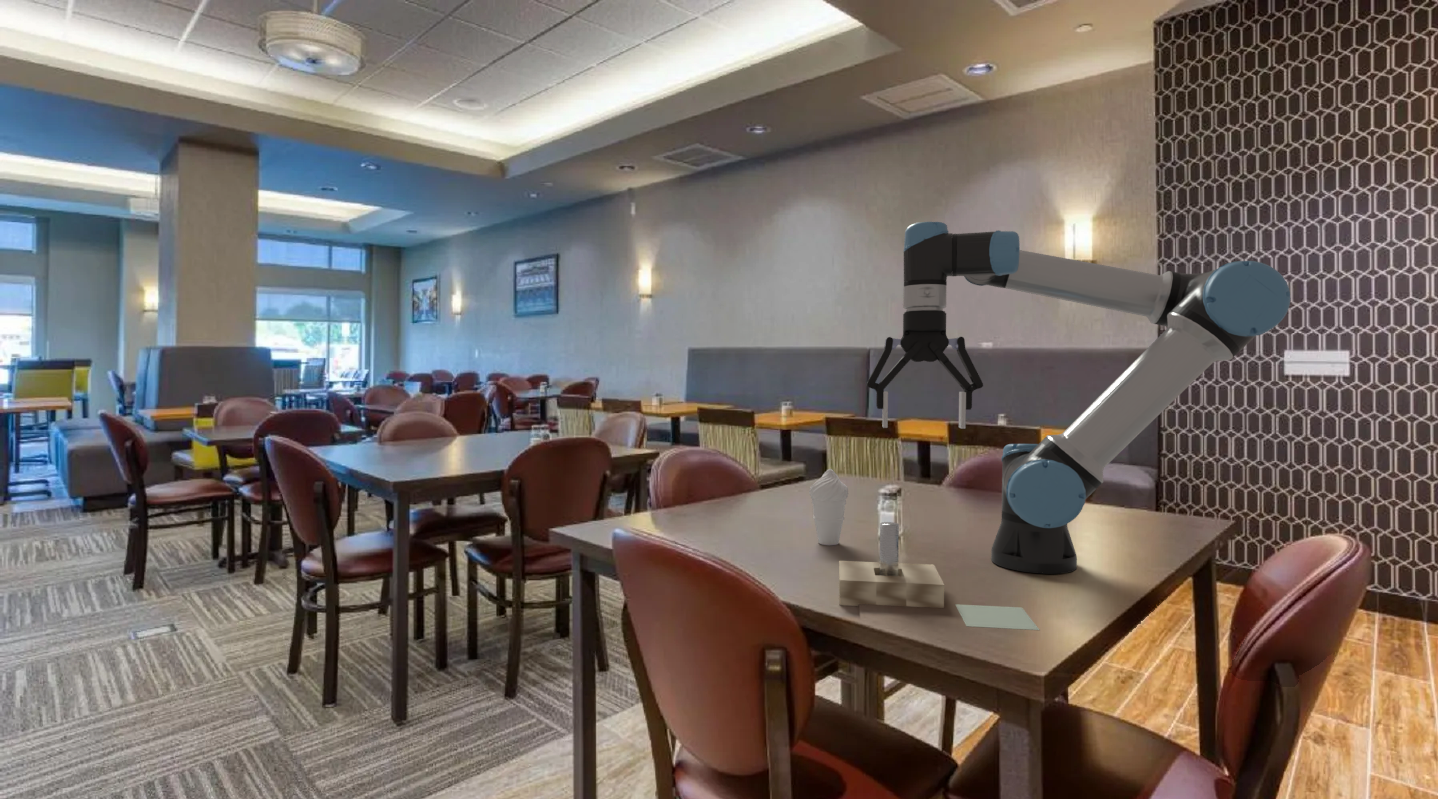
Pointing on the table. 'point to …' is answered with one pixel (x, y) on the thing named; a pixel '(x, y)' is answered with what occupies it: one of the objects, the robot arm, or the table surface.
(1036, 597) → the table surface
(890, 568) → the peg
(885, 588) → the block
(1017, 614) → the mat
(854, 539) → the table surface
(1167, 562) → the table surface
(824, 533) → the soft serve ice cream cone
